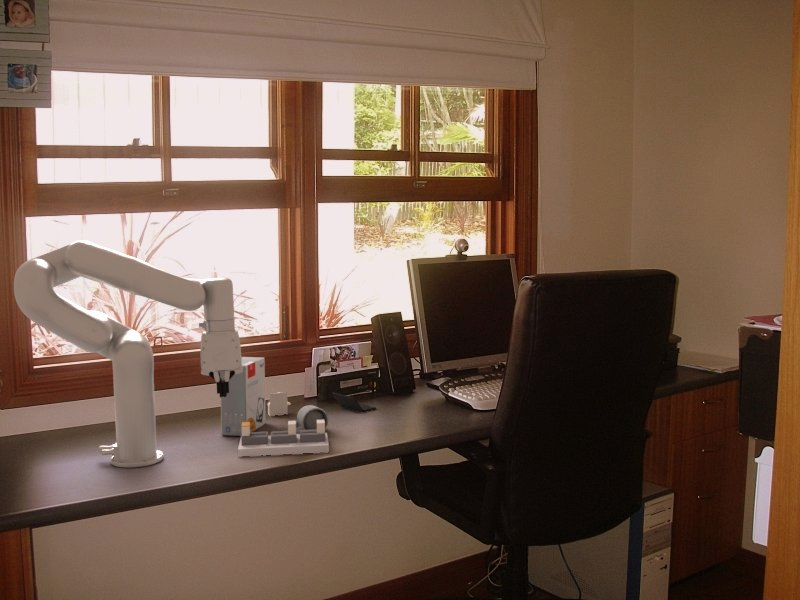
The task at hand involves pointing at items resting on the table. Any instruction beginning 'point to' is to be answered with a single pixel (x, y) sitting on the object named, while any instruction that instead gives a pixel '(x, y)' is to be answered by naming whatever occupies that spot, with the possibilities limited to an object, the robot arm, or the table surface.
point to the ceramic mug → (310, 418)
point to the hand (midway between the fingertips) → (223, 395)
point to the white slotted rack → (285, 441)
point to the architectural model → (278, 404)
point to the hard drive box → (244, 398)
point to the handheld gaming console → (352, 403)
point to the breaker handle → (245, 428)
